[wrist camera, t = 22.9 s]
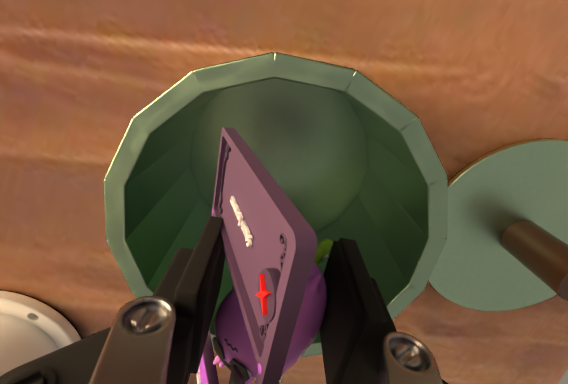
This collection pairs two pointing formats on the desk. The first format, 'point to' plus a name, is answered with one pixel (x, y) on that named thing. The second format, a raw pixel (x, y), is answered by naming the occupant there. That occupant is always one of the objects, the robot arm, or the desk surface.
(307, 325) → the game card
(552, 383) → the desk surface
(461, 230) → the tin lid
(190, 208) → the tin
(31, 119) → the desk surface
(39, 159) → the desk surface
